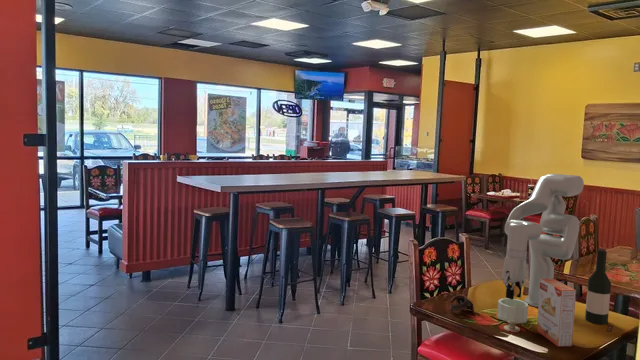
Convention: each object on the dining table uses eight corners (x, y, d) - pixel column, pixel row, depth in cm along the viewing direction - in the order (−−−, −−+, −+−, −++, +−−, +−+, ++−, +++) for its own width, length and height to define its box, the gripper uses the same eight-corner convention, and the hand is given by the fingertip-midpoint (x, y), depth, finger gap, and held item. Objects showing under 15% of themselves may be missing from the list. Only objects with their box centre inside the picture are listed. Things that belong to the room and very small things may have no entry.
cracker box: (535, 331, 184) (539, 277, 182) (550, 331, 185) (554, 278, 183) (556, 347, 170) (560, 289, 168) (572, 347, 171) (577, 289, 169)
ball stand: (509, 325, 189) (510, 318, 189) (522, 330, 185) (523, 322, 184) (501, 328, 186) (501, 320, 186) (514, 333, 181) (514, 325, 181)
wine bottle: (588, 315, 203) (594, 245, 200) (610, 321, 197) (616, 249, 194) (581, 320, 197) (587, 248, 195) (604, 326, 191) (610, 252, 189)
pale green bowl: (508, 311, 205) (509, 296, 205) (533, 319, 196) (534, 304, 195) (491, 316, 199) (492, 301, 198) (516, 325, 189) (517, 309, 189)
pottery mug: (478, 317, 198) (471, 302, 196) (456, 325, 200) (449, 310, 198) (471, 301, 209) (464, 286, 207) (451, 308, 211) (444, 293, 209)
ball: (511, 293, 199) (512, 283, 199) (521, 296, 196) (522, 286, 195) (505, 295, 197) (506, 284, 196) (515, 298, 193) (515, 287, 193)
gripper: (520, 249, 203) (516, 292, 204) (495, 253, 193) (492, 298, 194) (536, 253, 197) (533, 297, 198) (512, 257, 187) (509, 303, 188)
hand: (513, 297), depth 196 cm, fingers closed on ball, 4 cm apart
